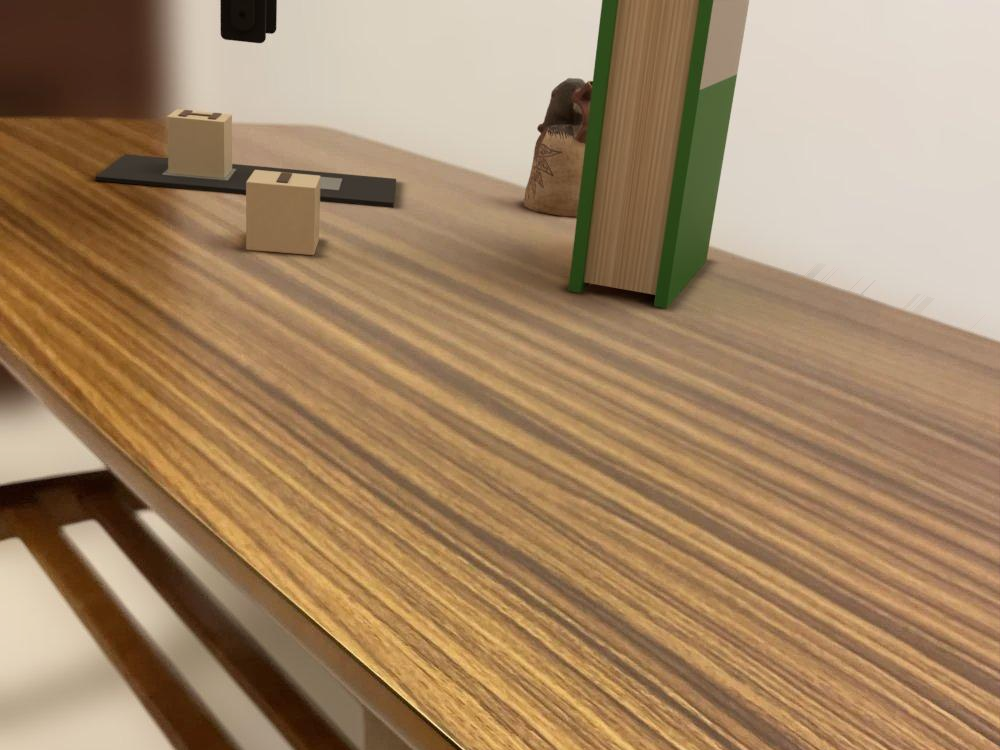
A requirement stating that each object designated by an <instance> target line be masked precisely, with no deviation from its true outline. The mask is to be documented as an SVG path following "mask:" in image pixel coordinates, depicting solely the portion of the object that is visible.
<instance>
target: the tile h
mask: <svg viewBox="0 0 1000 750" xmlns="http://www.w3.org/2000/svg"><path fill="white" fill-rule="evenodd" d="M166 126H167V128H166V129H167V131H166V132H167V158H168V172H169V174H178V175H189V176H200V177H211V178H223V179H224V178H225V177H226V176H227V175H228V174H229V172H230V171H231V170H232V164H233V114H231V113H223V112H211V111H199V110H192V109H191V110H190V109H182V108H181V109H180V108H179V109H178V108H177V109H175V110H174V111H172V112H171V113H170V114H168V115H167V116H166Z"/></svg>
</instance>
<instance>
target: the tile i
mask: <svg viewBox="0 0 1000 750" xmlns="http://www.w3.org/2000/svg"><path fill="white" fill-rule="evenodd" d="M320 181H321V176H318V175H307V174H296V173H285V172H274V171H263V170H254V172H253V173H252V174H251V176H250V177H249V179H248V180H247V182H246V194H245V211H246V212H245V250H247V251H255V252H256V251H257V252H268V253H278V254H279V253H281V254H293V255H302V256H303V255H305V256H314V255H315V253H316V250H317V247H318V244H319V241H320V215H321V201H320Z"/></svg>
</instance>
